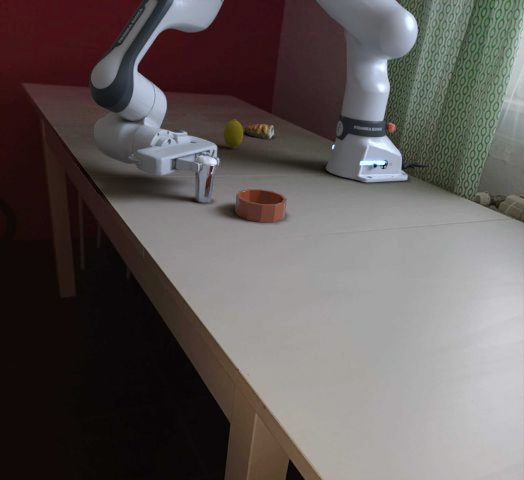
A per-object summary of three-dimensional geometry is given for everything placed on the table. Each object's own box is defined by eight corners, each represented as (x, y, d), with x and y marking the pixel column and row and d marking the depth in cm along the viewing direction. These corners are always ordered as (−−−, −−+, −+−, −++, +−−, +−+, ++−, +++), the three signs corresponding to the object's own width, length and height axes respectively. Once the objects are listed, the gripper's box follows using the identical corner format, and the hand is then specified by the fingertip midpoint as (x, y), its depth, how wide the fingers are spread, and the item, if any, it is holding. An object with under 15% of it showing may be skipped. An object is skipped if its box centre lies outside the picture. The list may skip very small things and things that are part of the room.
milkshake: (219, 200, 116) (223, 152, 111) (206, 205, 112) (211, 155, 106) (200, 195, 117) (204, 147, 112) (188, 199, 113) (191, 150, 108)
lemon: (239, 152, 153) (241, 122, 149) (220, 149, 154) (222, 119, 150) (243, 148, 158) (246, 119, 154) (225, 145, 158) (227, 116, 154)
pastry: (242, 135, 172) (243, 122, 170) (246, 131, 178) (247, 119, 176) (270, 139, 171) (272, 127, 169) (274, 136, 177) (275, 123, 175)
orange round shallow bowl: (275, 205, 117) (277, 189, 115) (290, 222, 109) (292, 205, 107) (230, 205, 114) (231, 188, 112) (243, 222, 106) (244, 205, 104)
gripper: (121, 141, 106) (177, 157, 100) (186, 129, 121) (237, 142, 116) (122, 173, 109) (176, 190, 104) (185, 158, 124) (235, 172, 119)
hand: (209, 165), depth 110 cm, fingers closed on milkshake, 4 cm apart
